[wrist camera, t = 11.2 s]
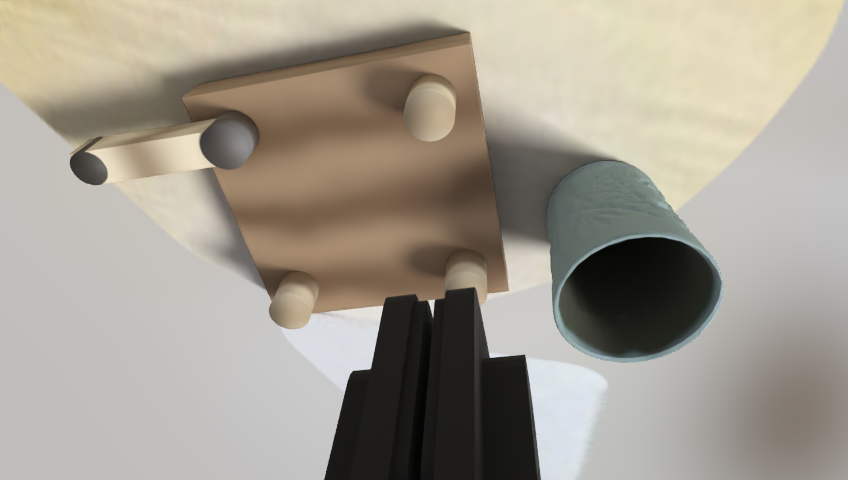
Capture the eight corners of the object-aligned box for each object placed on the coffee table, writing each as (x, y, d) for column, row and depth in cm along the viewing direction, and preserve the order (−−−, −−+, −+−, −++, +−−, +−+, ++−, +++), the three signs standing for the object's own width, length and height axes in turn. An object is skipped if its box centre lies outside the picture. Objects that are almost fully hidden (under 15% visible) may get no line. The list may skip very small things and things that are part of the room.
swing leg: (250, 107, 39) (237, 121, 37) (265, 150, 41) (254, 166, 39) (81, 135, 41) (59, 151, 39) (102, 175, 43) (83, 191, 41)
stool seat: (198, 83, 42) (158, 117, 37) (469, 32, 39) (469, 60, 33) (287, 295, 53) (266, 345, 47) (506, 269, 49) (511, 319, 44)
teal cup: (557, 272, 49) (578, 378, 39) (517, 174, 44) (530, 266, 34) (680, 236, 46) (736, 339, 36) (652, 126, 41) (708, 212, 31)
